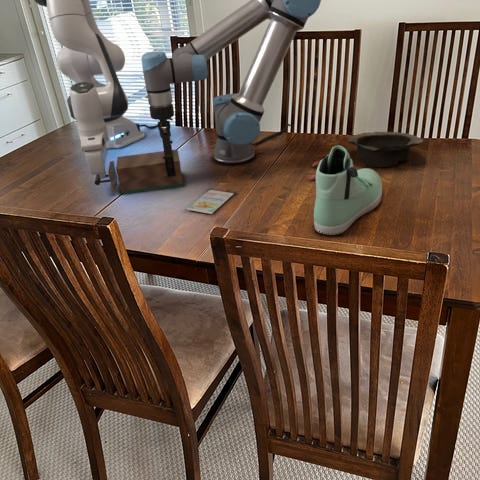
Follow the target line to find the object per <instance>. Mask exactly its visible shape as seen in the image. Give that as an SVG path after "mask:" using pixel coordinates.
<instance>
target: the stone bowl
mask: <svg viewBox="0 0 480 480" xmlns="http://www.w3.org/2000/svg"><path fill="white" fill-rule="evenodd" d="M424 142H425V141H424V139H422V138H420V137H418V136H417V135H414V134H411V133H407V132H397V131H373V132H362V133H358V134H353V135H351V136H349V137H348V141H347V143H348V144H351V145H353V146H356V150H357V151H356V152H357V154H358V155H360V157H361V159H363V160H364V161H366V164H367V166H368V167H372V168H375V167H376V168H385V167H394V166H396V165H397V164H398V162H406V161H408V160H409V158H410V151H411V148H413V147H416V146H419V145H420V144H422V143H424Z"/></svg>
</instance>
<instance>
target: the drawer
mask: <svg viewBox="0 0 480 480" xmlns="http://www.w3.org/2000/svg"><path fill="white" fill-rule="evenodd" d="M115 165H116V164H115V161H114V160H111V161H109V166H108V172H107V174H106V177H105V178H108V177H109V179H101V178H100V176H99V174H96V175H95V179H94V185H96V186H99V185H100V184H105V183H110V186H111V191H112V192H113V193H115V192H117V190H118V183H119V180H118V176H117V171H116V166H115Z"/></svg>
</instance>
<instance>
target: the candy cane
mask: <svg viewBox="0 0 480 480" xmlns="http://www.w3.org/2000/svg"><path fill="white" fill-rule="evenodd" d="M320 161H321V160H317V161H314V162H313V163H312V167H313V168H316V167H318V165H319V163H320ZM314 180H316V172H315V173H314V174H313V175H311V176H310V177H309V181H310V182H312V181H314Z"/></svg>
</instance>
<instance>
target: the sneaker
mask: <svg viewBox="0 0 480 480" xmlns="http://www.w3.org/2000/svg"><path fill="white" fill-rule="evenodd" d="M319 161H320V163H319V165H317V168H316V172H315V173H316V178H315V201H314V207H313V225H314V229H315V231H316V232H318V233H320V234H323V235H326V236H327V235H328V236H336V235H339V234H342V233H344V232H345V231H347V230H348V229H349V228H350V227H351V226H352V225H353V224H354V222H356V221H357V220H358V219H359V218H360V217H362V216H363V215H365V214H367V213H370V212H372V210H374V209H375V208H377V207H378V205H380V203H381V200H382V196H383V184H382V183H383V182H382V179H381V176H380V175H379V173H378V172H377V171H376V170H374V169H372V168H367V167H365V168H358V169H357V168H355V167H354V161H353V159H352V158H351V156H350V153H349V152H348V150H347V148H345V147H344V146H342V145H334V146H333V147H331V149H330V151H329V154H327V155H326V156H325V157H324V158H322V159H321V160H319ZM343 230H344V231H343ZM319 231H320V232H319ZM322 232H323V233H322ZM339 232H340V233H339ZM326 233H327V234H326ZM328 233H329V234H328ZM335 233H337V234H335Z"/></svg>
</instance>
